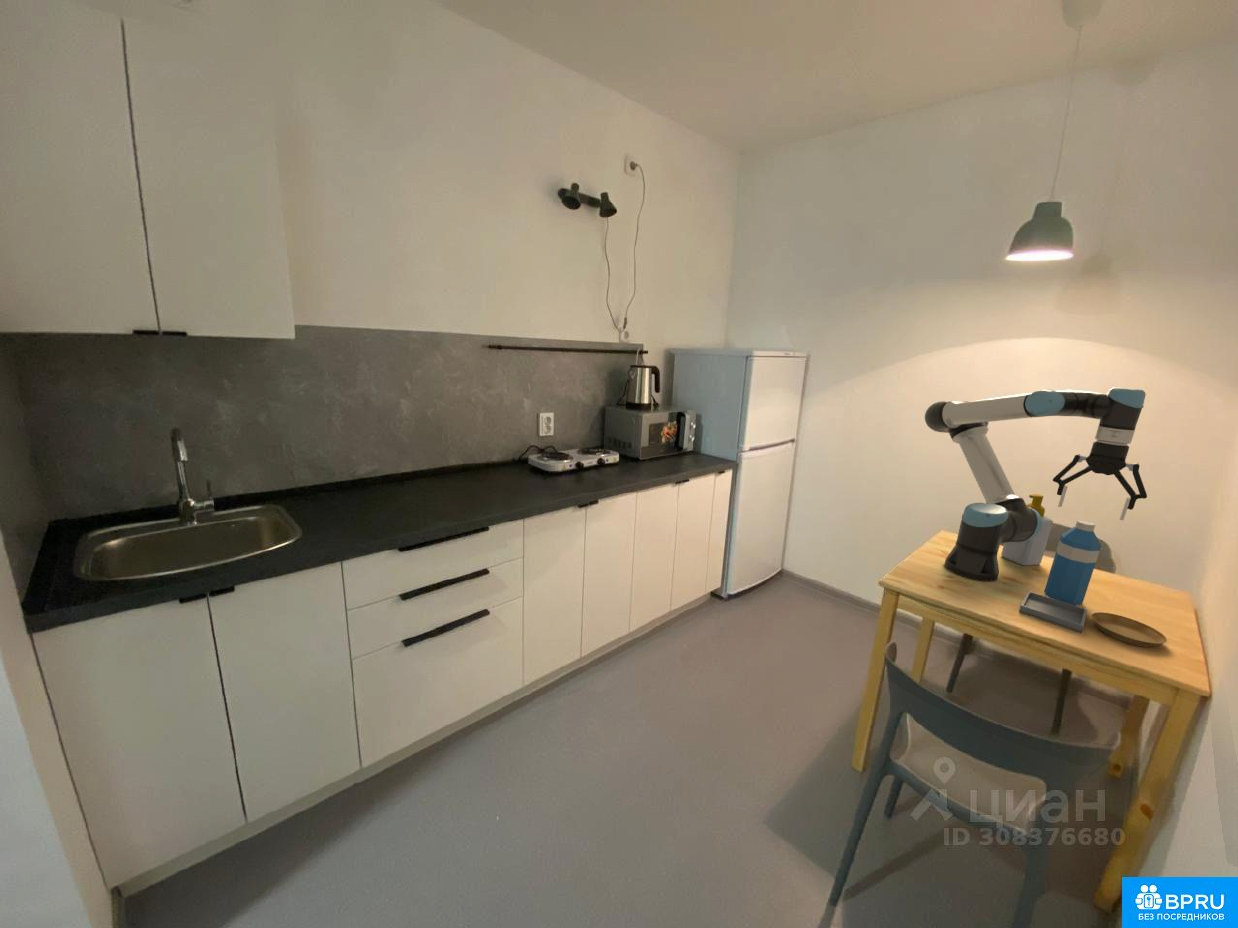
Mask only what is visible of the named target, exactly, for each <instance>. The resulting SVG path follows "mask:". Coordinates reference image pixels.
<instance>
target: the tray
mask: <svg viewBox="0 0 1238 928" xmlns="http://www.w3.org/2000/svg"><path fill="white" fill-rule="evenodd" d="M1022 600H1023V601H1022V602H1021V604H1020V606H1019V610H1018V612H1019V613H1021V614H1024V615H1027V616H1030V617H1032V618H1035V619H1038V620H1041V621H1044V622H1047V623H1049V624H1053V625H1055V626H1057V627H1061V628H1065V629H1068V630H1071V631H1072V632H1076V633H1079V634H1081V633H1082V631H1083V629H1084V625H1085V622H1086V617H1087V613H1088V609H1087V608H1084V607H1080V606H1079V605H1072V604H1069V603H1065V602H1062V601H1059V600H1056V599H1053V598H1050V597H1047V596H1046V595H1043V594H1040V593H1037V592H1034V591H1029V590H1028V591H1027V592H1026V594H1025V596H1024V599H1022Z"/></svg>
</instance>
